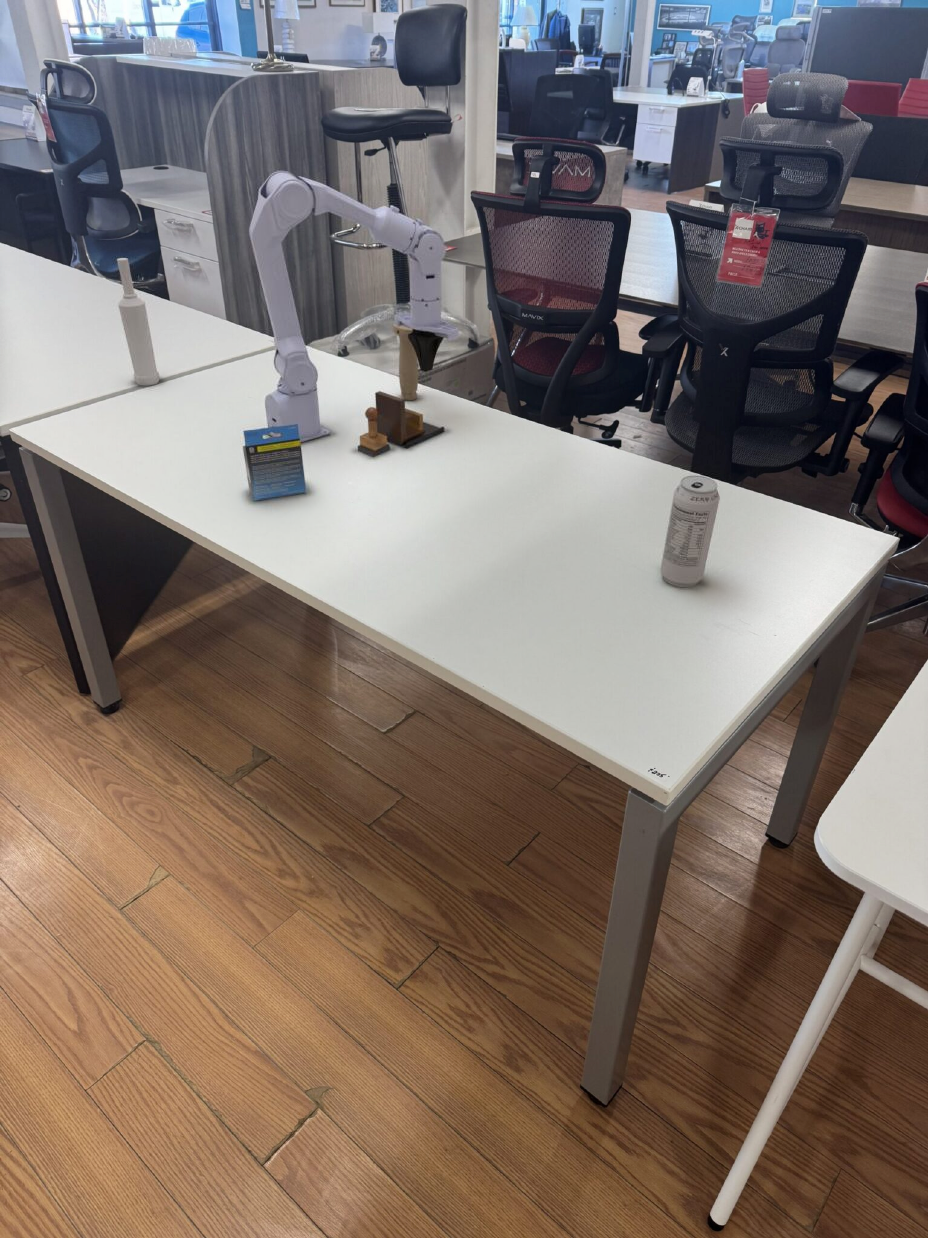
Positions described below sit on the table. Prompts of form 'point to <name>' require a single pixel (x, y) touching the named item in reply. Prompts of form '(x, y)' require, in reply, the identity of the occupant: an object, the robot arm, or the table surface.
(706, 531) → the energy drink can
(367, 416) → the stamp
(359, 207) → the robot arm
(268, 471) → the blue product box
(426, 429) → the track
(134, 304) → the bottle
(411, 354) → the handle
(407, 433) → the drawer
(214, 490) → the table surface
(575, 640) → the table surface
